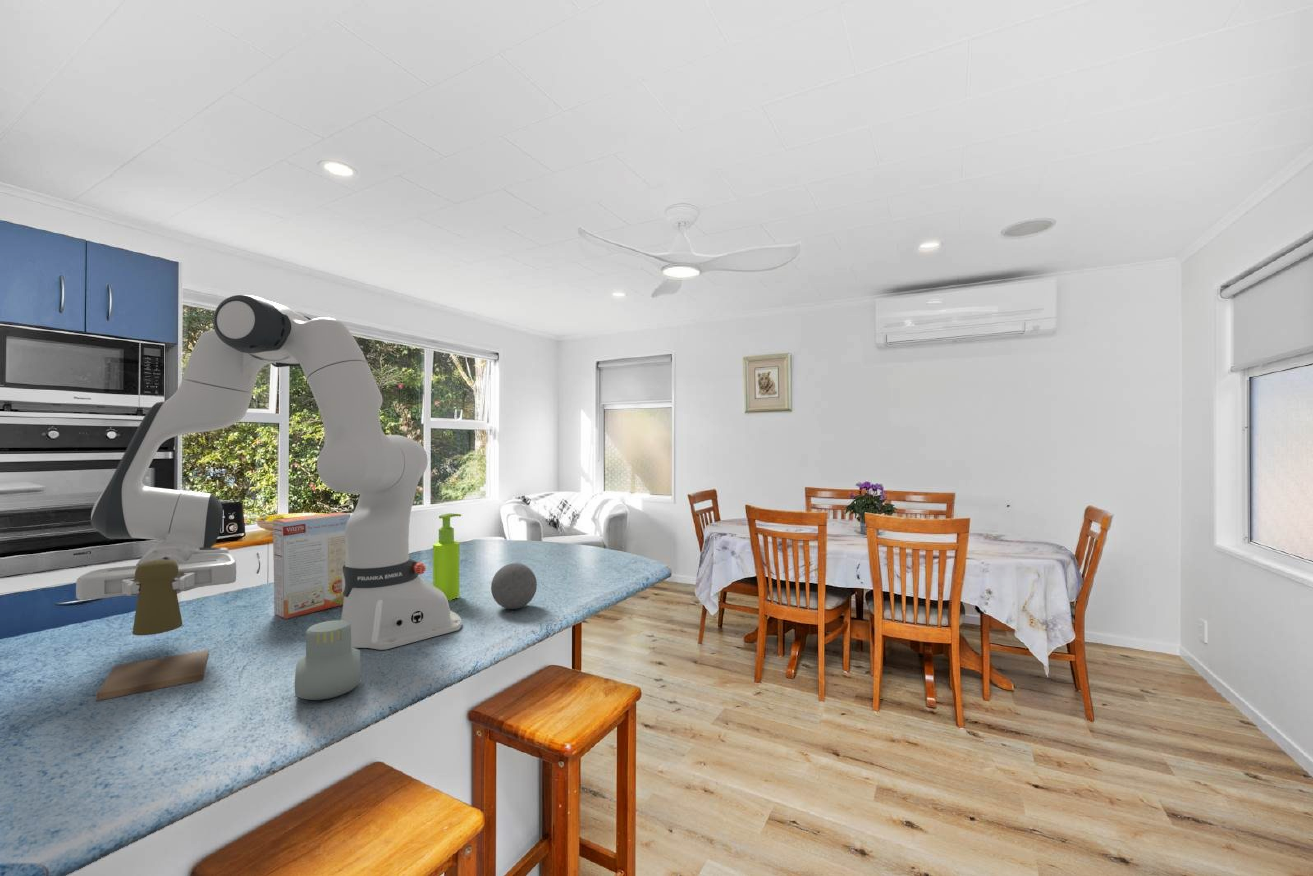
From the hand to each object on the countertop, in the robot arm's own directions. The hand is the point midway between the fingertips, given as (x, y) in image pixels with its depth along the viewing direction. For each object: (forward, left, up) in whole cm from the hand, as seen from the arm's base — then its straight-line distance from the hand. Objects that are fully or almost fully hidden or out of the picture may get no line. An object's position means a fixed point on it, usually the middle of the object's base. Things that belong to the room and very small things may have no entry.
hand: (155, 588), depth 88 cm
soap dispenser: (-50, -19, -15) cm, 55 cm away
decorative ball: (-60, -2, -15) cm, 62 cm away
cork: (0, -1, -7) cm, 7 cm away
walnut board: (0, -1, -14) cm, 14 cm away
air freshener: (-22, +21, -15) cm, 34 cm away
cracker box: (-23, -27, -15) cm, 38 cm away
